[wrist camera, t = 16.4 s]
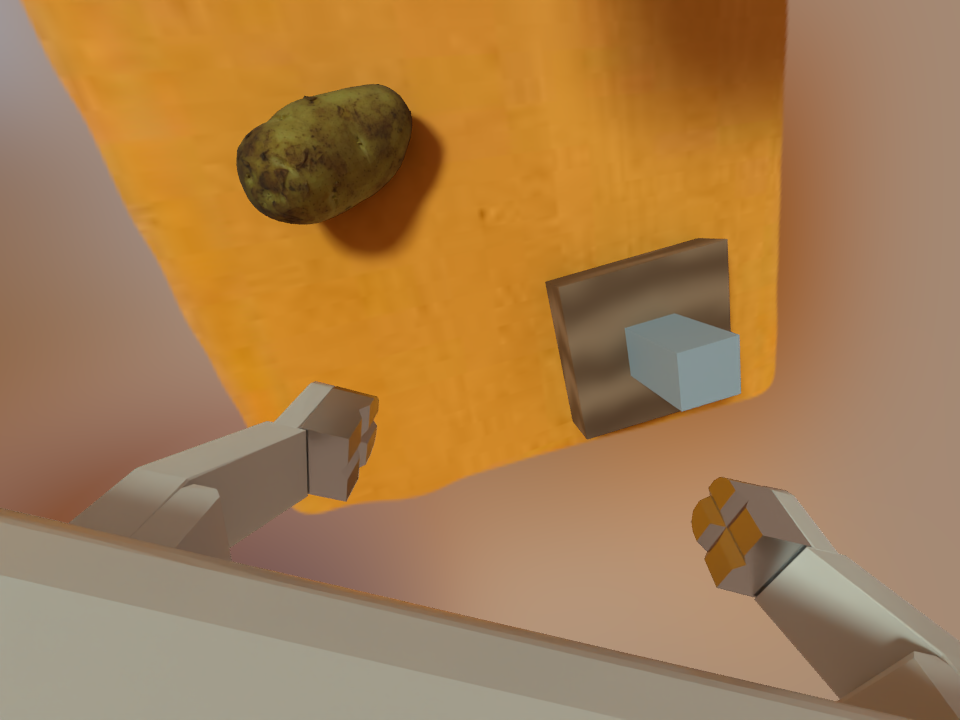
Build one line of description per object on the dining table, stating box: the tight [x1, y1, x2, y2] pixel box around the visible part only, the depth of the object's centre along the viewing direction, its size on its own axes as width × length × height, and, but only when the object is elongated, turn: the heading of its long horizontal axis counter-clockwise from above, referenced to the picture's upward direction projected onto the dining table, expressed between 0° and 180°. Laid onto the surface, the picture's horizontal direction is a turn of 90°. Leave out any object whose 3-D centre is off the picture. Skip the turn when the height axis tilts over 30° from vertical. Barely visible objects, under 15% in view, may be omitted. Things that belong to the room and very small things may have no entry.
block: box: [625, 313, 741, 411], centre depth 34 cm, size 5×5×8 cm
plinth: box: [545, 238, 731, 439], centre depth 39 cm, size 16×16×4 cm
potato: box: [237, 84, 412, 224], centre depth 29 cm, size 8×13×8 cm, turn 103°
